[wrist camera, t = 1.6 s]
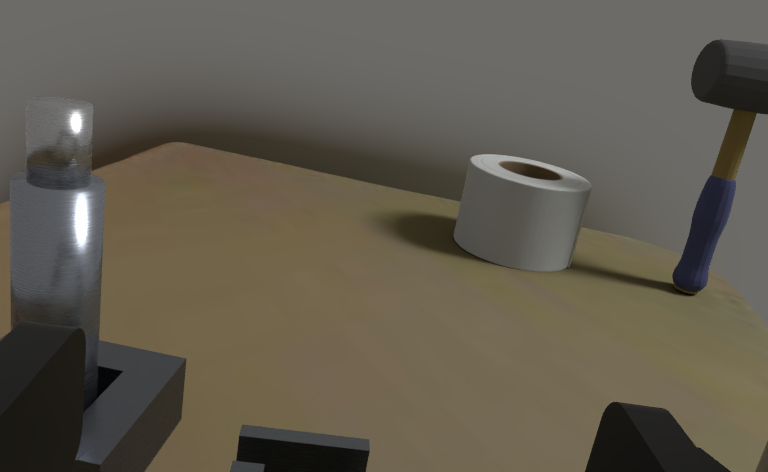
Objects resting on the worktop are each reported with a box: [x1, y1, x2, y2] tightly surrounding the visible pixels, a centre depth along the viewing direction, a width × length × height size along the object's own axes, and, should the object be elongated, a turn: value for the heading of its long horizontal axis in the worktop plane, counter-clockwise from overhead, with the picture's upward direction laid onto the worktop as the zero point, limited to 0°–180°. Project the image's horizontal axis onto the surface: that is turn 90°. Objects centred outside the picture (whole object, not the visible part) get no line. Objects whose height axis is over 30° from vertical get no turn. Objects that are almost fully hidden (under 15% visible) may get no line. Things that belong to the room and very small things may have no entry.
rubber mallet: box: [673, 40, 768, 294], centre depth 82 cm, size 12×8×30 cm, turn 92°
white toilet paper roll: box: [454, 154, 592, 272], centre depth 90 cm, size 16×15×11 cm
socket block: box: [0, 332, 186, 472], centre depth 40 cm, size 11×11×4 cm
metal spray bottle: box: [10, 97, 105, 413], centre depth 37 cm, size 4×4×18 cm
